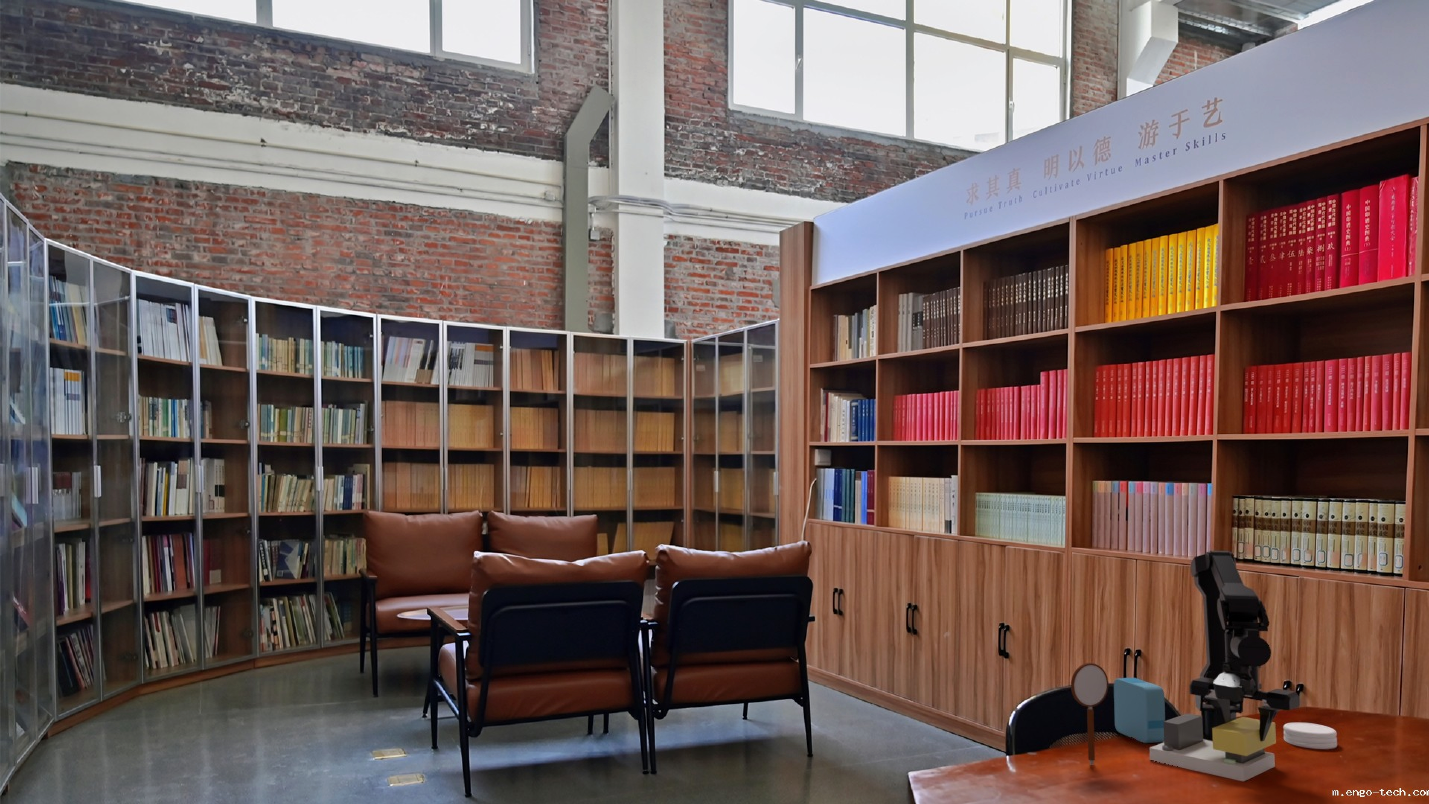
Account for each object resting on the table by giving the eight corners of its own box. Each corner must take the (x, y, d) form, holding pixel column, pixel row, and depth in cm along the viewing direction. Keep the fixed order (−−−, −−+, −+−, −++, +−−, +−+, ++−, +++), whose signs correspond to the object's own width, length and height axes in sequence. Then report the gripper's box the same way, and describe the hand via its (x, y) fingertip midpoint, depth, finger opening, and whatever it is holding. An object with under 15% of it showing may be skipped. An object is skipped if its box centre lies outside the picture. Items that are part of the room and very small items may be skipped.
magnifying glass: (1106, 761, 199) (1104, 661, 201) (1112, 764, 198) (1110, 662, 199) (1070, 765, 197) (1068, 663, 198) (1076, 767, 195) (1073, 664, 196)
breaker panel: (1149, 760, 200) (1149, 744, 200) (1183, 747, 210) (1182, 732, 210) (1243, 781, 187) (1242, 764, 187) (1274, 766, 196) (1274, 750, 197)
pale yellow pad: (1213, 749, 193) (1212, 728, 193) (1243, 736, 202) (1242, 716, 202) (1246, 756, 188) (1245, 734, 188) (1276, 743, 197) (1275, 722, 197)
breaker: (1164, 748, 201) (1163, 721, 202) (1188, 738, 208) (1187, 713, 209) (1179, 751, 199) (1178, 724, 199) (1203, 741, 206) (1202, 715, 207)
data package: (1166, 744, 213) (1164, 687, 214) (1147, 745, 212) (1146, 688, 213) (1132, 730, 225) (1130, 676, 225) (1114, 731, 224) (1113, 677, 225)
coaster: (1286, 735, 221) (1285, 719, 221) (1339, 742, 215) (1338, 726, 215) (1281, 745, 213) (1280, 728, 213) (1335, 753, 207) (1334, 735, 207)
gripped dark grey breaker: (1225, 764, 192) (1224, 736, 193) (1248, 754, 199) (1247, 727, 200) (1241, 767, 190) (1240, 739, 190) (1264, 757, 197) (1263, 730, 197)
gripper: (1175, 655, 198) (1178, 735, 197) (1276, 669, 184) (1279, 755, 183) (1200, 649, 205) (1203, 725, 204) (1299, 662, 191) (1302, 744, 190)
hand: (1244, 737), depth 195 cm, fingers closed on pale yellow pad, 6 cm apart
